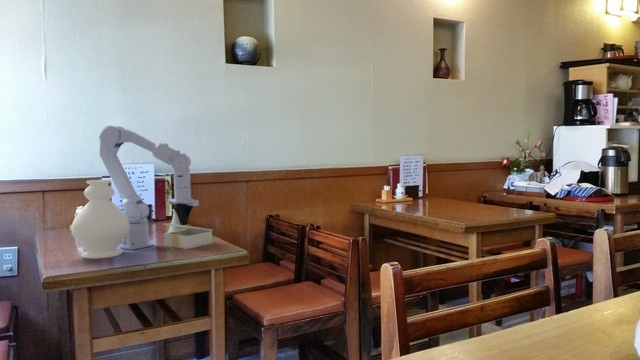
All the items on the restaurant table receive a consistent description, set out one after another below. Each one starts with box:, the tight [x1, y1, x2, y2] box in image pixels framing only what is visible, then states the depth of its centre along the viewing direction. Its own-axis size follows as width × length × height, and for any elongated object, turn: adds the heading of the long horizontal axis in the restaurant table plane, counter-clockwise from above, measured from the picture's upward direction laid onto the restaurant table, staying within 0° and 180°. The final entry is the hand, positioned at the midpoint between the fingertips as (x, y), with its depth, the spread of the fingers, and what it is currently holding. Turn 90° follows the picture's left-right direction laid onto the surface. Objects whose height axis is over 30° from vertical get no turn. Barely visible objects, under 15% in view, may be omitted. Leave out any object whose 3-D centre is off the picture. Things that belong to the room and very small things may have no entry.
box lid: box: [163, 222, 214, 232], centre depth 190 cm, size 12×12×1 cm
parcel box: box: [163, 228, 213, 250], centre depth 190 cm, size 12×12×4 cm
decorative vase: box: [71, 179, 129, 260], centre depth 174 cm, size 18×18×25 cm
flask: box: [167, 209, 186, 233], centre depth 215 cm, size 7×7×10 cm
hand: (183, 224), depth 188 cm, fingers closed, pressing on box lid
